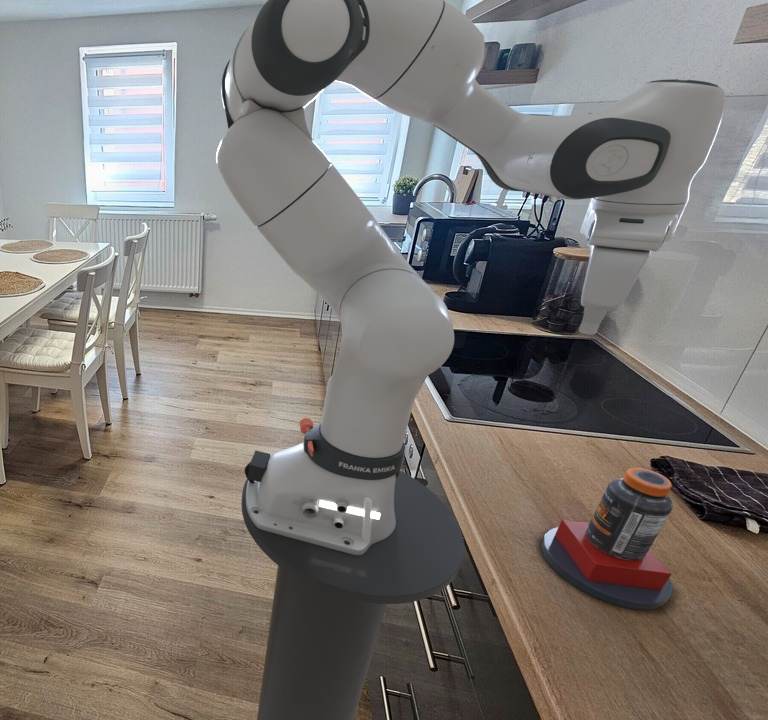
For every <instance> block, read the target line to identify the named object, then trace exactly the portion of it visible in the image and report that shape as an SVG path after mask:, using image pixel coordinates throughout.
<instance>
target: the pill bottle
mask: <svg viewBox="0 0 768 720" xmlns="http://www.w3.org/2000/svg"><path fill="white" fill-rule="evenodd" d="M672 484H673V483H672V482H671V480H670V479H669V478H667V477H666V476H665V475H663V474H661V473H659V472H656V471H654V470H651V469H647V468H643V467H631V468H628V469H627V470H626V472H625V474H624V475H623V477H622V478H617V479H614V480H612V481H610V482H609V483H608V485H607V487H606V488H605V491H604V493H603V494H602V497H601V498H600V501H599V502H598V504H597V507H596V509H595V511H594V513H593V515H592V517H591V518H590V521H589V522H588V523H589V525H588V527H587V529H586V536H587V538H588V539H589V541H590V542H591V543H592V544H593V545H594V546H596V547H597V548H598V549H600V550H601V551H603V552H605V553H607V554H609V555H611V556H614V557H617V558H620V559H624V560H632V561H635V560H641V559H643V558H644V557H645V556H646V554H647V552H648V551H649V550H651V547H652V545H653V543H654V542H655V540H656V538H657V537H658V535H659V534H660V532H661V530H662V529H663V527H664V526H665V524H666V522H667V519H668V518H669V516H670V514H671V512H672V510H673V508H674V503H673V500H672V499H671V497H670V496H669V494H670V491H671V489H672V487H673V485H672Z"/></svg>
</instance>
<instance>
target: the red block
mask: <svg viewBox="0 0 768 720" xmlns="http://www.w3.org/2000/svg"><path fill="white" fill-rule="evenodd" d="M589 523H590V522H586V521H579V520H578V521H577V520H569V519H568V520H567V519H561V521H560V523H559V525H558V526H557V527H558V530H557V532H556V534H555V536H556V537H557V539H558V540H559V541H560V543H561V544H562V546H563V547H564V548H565V550H566V551H567V552H568V554H569V555H570V557H571V558H572V559H573V561H574V562H575V563H576V565H577V566H578V568H579V569H580V570H581V572H582V573H583V574H584V576H585V577H586V579H587V580H588V581H596V582H603V583H610V584H618V585H625V586H632V587H640V588H647V589H654V590H662V589H663V587H664V585H665V584H666V582H667V581H668V579H670V577H671V576H672V572H671V571H670V570H669V569H668V568H667V567H666V566H665V565H664V564H663V562H661V560H659V558H658V557H657V556H656V555H655V554H654V553H653V552H652V551H651V549H649V551H648V552H647V554H646V556H645V557H644V558H643V559H641V560H635V561H632V560H624V559H620V558H617V557H614V556H611V555H609V554H607V553H605V552H603V551H601V550H600V549H598V548H597V547H596V546H594V545H593V544H592V543H591V542H590V541H589V539H588V538H587V536H586V529H587V527H588V525H589Z"/></svg>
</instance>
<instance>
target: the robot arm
mask: <svg viewBox="0 0 768 720" xmlns="http://www.w3.org/2000/svg"><path fill="white" fill-rule="evenodd" d="M485 42H486V41H485V36H484V34H483V32H481V30H480V29H479V28H478V27H477V26H476V24H475V23H474V22H473V21H472V20H471V19H470V18H469V17H468V16H467V15H466V14H464V13H463V12H462V11H461V10H459V9H458V8H456V7H455V6H453V5H452V4H451V3H449V2H447V0H446V1H445V0H267V1H265V3H264V5H262V7H261V9H260V10H259V12H258V14H257V16H256V18H255V19H254V20H253V21H252V23H251V24H250V25H249V26H248V27H247V28H246V29H245V30H244V31H243V33H242V34H241V36H240V38H239V39H238V41H237V43H236V45H235V47H234V48H233V49H234V50H233V52H232V53H231V56H230V58H229V60H228V61H227V63H226V65H225V67H224V69H223V74H222V78H221V84H220V85H221V86H220V94H221V102H222V105H223V109H224V112H225V118H226V123H227V128H228V129H227V131H226V132H225V133H224V135H223V137H222V138H221V140H220V142H219V144H218V147H217V151H216V156H215V160H216V167H217V169H218V172H219V174H220V176H221V178H222V179H223V181H224V183H225V185H226V186H227V188H228V190H229V193H231V195H232V196H233V198H234V200H235V201H236V203H237V204H238V206H239V207H240V208H241V210H242V211H243V212H244V214H245V215H246V217H247V219H249V221H250V222H251V223H252V224H253V226H254V227H255V228H256V229H257V230H258V231H259V233H260V234H261V235H262V236H263V238H264V239H265V240H266V241H267V242H268V243H269V244H270V246H271V247H272V248H273V249H274V250H275V252H276V253H277V254H278V255H279V256H280V258H281V259H282V261H284V262H285V263H286V265H287V266H288V267H289V269H291V271H292V272H293V273H294V274H295V275H297V276H298V277H299V278H300V279H301V280H303V281H304V282H305V283H306V284H307V285H308V286H309V287H310V288H311V289H312V290H313V291H314V292H315V293H316V294H318V296H319V297H320V299H322V300H323V301H324V302H325V303H326V304H327V305H328V306H329V307H330V309H331V310H332V311H333V313H334V315H335V316H336V318H337V319H338V321H339V323H340V325H341V345H340V350H339V354H338V357H337V360H336V364H335V367H334V369H333V372H332V374H331V376H330V377H329V378H328V380H327V383H326V391H325V396H324V402H323V403H324V404H323V407H322V414H321V415H322V416H321V422H319V424H317V425H316V426H314V422H313V421H312V419H311V418H308V417H304V418H302V419H301V420H299V422H298V425H299V427H300V428H299V430H300V432H301V434H303V435H304V438H303V441H302V442H300V443H298V444H295V445H293V446H290V447H287V448H285V449H282V450H280V451H277V452H274V453H272V455H271V453H269V452H264V451H261V450H260V451H259V450H254V452H253V455H252V456H251V457H252V458H251V459H250V461H249V463H247V465H245V467H244V476H245V477H246V479H248V484H247V488H246V508H247V512H248V514H249V517H250V519H251V520H252V522H253V523H254V525H255V526H256V527H257V528H259V529H261V530H264V531H268V532H272V533H275V534H279V535H283V536H286V537H290V538H294V539H297V540H301V541H305V542H308V543H312V544H316V545H319V546H323V547H327V548H331V549H334V550H338V551H342V552H345V553H349V554H353V555H362V554H364V553H365V552H366V551H367V550H368V548H369V547H370V546H371V545H372V544H374V543H376V542H379V541H381V540H383V539H385V538H387V537H388V536H389V535H391V533H392V532H393V531H394V529H395V525H396V518H395V512H394V489H395V481H396V478H397V477H398V476H399V472H400V471H401V470H402V468H403V464H404V459H405V455H406V454H405V453H406V443H405V438H406V433H407V429H408V426H409V422H410V419H411V414H412V410H413V406H414V404H415V400H416V398H417V396H418V394H419V392H420V390H421V388H422V387H423V385H424V383H425V381H426V379H427V378H428V377H429V375H431V374H433V373H434V372H437V370H438V369H440V368H441V367H442V366H443V365H444V364H445V363H446V361H447V360H448V359H449V357H450V355H451V354H452V351H453V349H454V346H455V331H454V326H453V322H452V317H451V315H450V312H449V309H448V306H447V305H446V303H445V302H444V300H443V298H441V297H440V295H438V294H437V293H436V292H435V290H433V289H432V287H430V285H429V284H428V283H427V282H426V281H425V280H424V279H423V278H422V277H421V276H420V275H419V274H418V272H417V271H416V270H415V269H414V268H413V267H412V266H411V264H410V263H409V262H408V261H407V259H406V258H405V256H404V255H403V254H402V253H401V252H400V250H399V249H398V248H397V247H396V245H395V244H394V242H393V241H392V240H391V239H390V237H389V236H388V235H387V233H386V231H385V230H384V229H383V228H382V226H381V224H380V223H379V222H378V221H377V220H376V218H375V217H374V215H373V214H372V212H371V211H370V210H369V208H368V207H367V206H366V205H365V203H364V201H362V200H361V198H360V197H359V196H358V195H357V193H356V192H355V191H354V189H353V188H352V187H351V186H350V184H349V183H348V182H347V181H346V179H345V178H344V176H342V174H341V173H340V171H338V169H337V168H336V167H335V166H334V164H333V163H332V162H331V160H330V159H329V158H328V156H326V154H325V153H324V152H323V150H322V149H320V147H319V146H318V145H317V144H316V143H315V141H314V139H313V137H312V135H311V134H310V131H309V129H308V126H307V121H306V114H305V108H306V107H307V106H308V105H310V104H311V103H312V102H313V101H314V100H315V99H316V98H317V97H318V96H319V95H320V94H321V93H322V92H323V91H324V90H325V89H326V88H327V87H329V86H330V85H331V84H333V83H334V82H339V83H343V84H345V85H349V86H352V87H353V88H355V89H356V90H357V91H359V92H360V93H362V94H363V95H365V96H367V97H368V98H370V99H372V100H373V101H375V102H377V103H378V104H380V105H382V106H384V107H386V108H388V109H390V110H392V111H394V112H397V113H399V114H401V115H404V116H407V117H409V118H412V119H414V120H415V119H416V120H418V121H422V122H424V123H428V124H430V125H433V126H434V127H435V128H437V129H438V130H440V131H441V132H443V133H444V134H446V135H448V136H449V137H450V138H452V139H453V140H455V141H456V142H458V143H459V144H461V145H462V146H463V147H465V148H467V149H468V150H470V151H471V152H472V153H473V154H474V155H475V156H476V157H477V158H478V159H479V160H480V162H481V164H482V166H483V168H484V170H485V172H486V174H487V175H488V177H489V178H490V180H491V181H492V182H493V183H494V184H495V185H496V186H497V187H498V188H501V189H504V190H505V191H506V190H507V191H509V192H510V191H511V192H523V193H533V194H536V195H541V196H542V195H543V196H548V197H553V198H558V199H563V200H564V199H565V200H572V201H575V200H576V201H577V200H578V201H579V200H587V199H590V200H589V201H590V202H589V204H588V208H587V210H586V213H585V216H584V219H583V221H582V224H581V227H580V230H579V233H580V234H581V235H583V236H584V237H585V238H586V239H587V244H586V245H587V247H588V248H589V259H588V263H587V269H586V273H585V278H584V281H583V287H582V291H581V295H580V296H581V297H580V305H581V306H582V307H584V308H583V317H582V320H581V323H580V325H579V328H578V332H579V333H580V334H582V335H583V334H584V335H590V336H594V335H596V334H597V333H598V330H599V328H600V325H601V323H602V321H603V320H604V319H605V317H606V315H607V313H608V311H609V312H616V311H617V310H619V309H620V307H621V306H622V305H623V303H624V302H625V300H626V299H627V297H628V295H629V293H630V292H631V290H632V288H633V286H634V285H635V283H636V282H637V280H638V278H639V276H640V274H641V272H642V270H643V269H644V267H645V266H646V263H647V262H648V261H649V259H650V256H651V253H652V252H658V251H660V249H661V248H662V246H663V244H666V242H670V241H671V240H672V238H673V236H674V235H675V232H676V230H677V228H678V225H679V222H680V221H681V218H682V215H683V213H684V211H685V209H686V207H687V205H688V202H689V200H690V189H691V184H692V181H693V179H694V178H695V176H696V175H697V174H698V172H699V171H700V170H701V169H702V167H704V165H705V163H706V161H707V159H708V156H709V154H710V152H711V149H712V147H713V145H714V143H715V140H716V137H717V135H718V132H719V130H720V129H719V128H720V126H721V123H722V120H723V116H724V111H725V105H726V94H725V91H724V89H723V88H721V87H720V86H719V85H718V84H715V83H712V82H708V81H703V80H696V79H695V80H694V79H672V78H671V79H669V78H668V79H656V80H650V81H648V82H644V83H642V84H641V85H640V86H639V87H638V88H637V89H635V91H633V92H631V93H629V94H628V95H627V96H625V97H623V98H621V99H619V100H616V101H614V102H613V103H610V104H608V105H606V106H604V107H601V108H598V109H595V110H592V111H589V112H588V114H580V115H579V114H578V115H576V114H575V115H573V114H572V115H552V114H541V113H539V114H538V113H522V112H519V111H517V110H515V109H513V108H512V107H511V106H509V105H508V104H507V103H505V102H504V101H502V100H501V99H499V98H498V97H497V96H495V95H494V94H493V93H491V92H490V91H489V90H487V89H486V88H485V87H483V86H482V85H480V83H478V81H477V79H476V78H477V77H478V75H479V73H480V71H481V69H482V66H483V63H484V58H485V51H486V43H485ZM256 513H257V514H256ZM346 544H347V545H346Z"/></svg>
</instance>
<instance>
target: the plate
mask: <svg viewBox="0 0 768 720" xmlns="http://www.w3.org/2000/svg"><path fill="white" fill-rule="evenodd" d="M558 527H559V526H556V527H553V528H551V529H549V530H548V531H547V532H546V533H545V534H544V536H543V538H542V541H541V546H540V547H541V552H542V555H543V557H544V559H545V561H546V562H547V563H548V564H549V566H550V567H551V568H552V569H553V570H554V571H555V572H556V573H557V574H558V575H559V576H561V577H562V578H563V579H564V580H565V581H567V582H568V583H570V584H571V585H573V586H574V587H576V588H577V589H579V590H581V591H582V592H585V593H586V594H588V595H589V596H591V597H594V598H596V599H598V600H601V601H604V602H606V603H609V604H611V605H616V606H619V607H621V608H622V607H623V608H627V609H631V610H641V611H645V610H646V611H650V610H656V609H659V608H661V607H663V606H664V605H666V603H667V602H668V601H669V600H670V598H671V596H672V595H673V588H674V587H673V583H672V580H671V578H669V579H668V581H667V582H666V584H665V585H664V587H663V589H662V590H654V589H647V588H640V587H632V586H625V585H618V584H610V583H603V582H596V581H588V580H587V579H586V577H585V576H584V574H583V573H582V572H581V570H580V569H579V568H578V566H577V565H576V563H575V562H574V561H573V559H572V558H571V557H570V555H569V554H568V552H567V551H566V550H565V548H564V547H563V546H562V544H561V543H560V541H559V540H558V539H557V537H556V536H555V534H556V532H557V530H558Z"/></svg>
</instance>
